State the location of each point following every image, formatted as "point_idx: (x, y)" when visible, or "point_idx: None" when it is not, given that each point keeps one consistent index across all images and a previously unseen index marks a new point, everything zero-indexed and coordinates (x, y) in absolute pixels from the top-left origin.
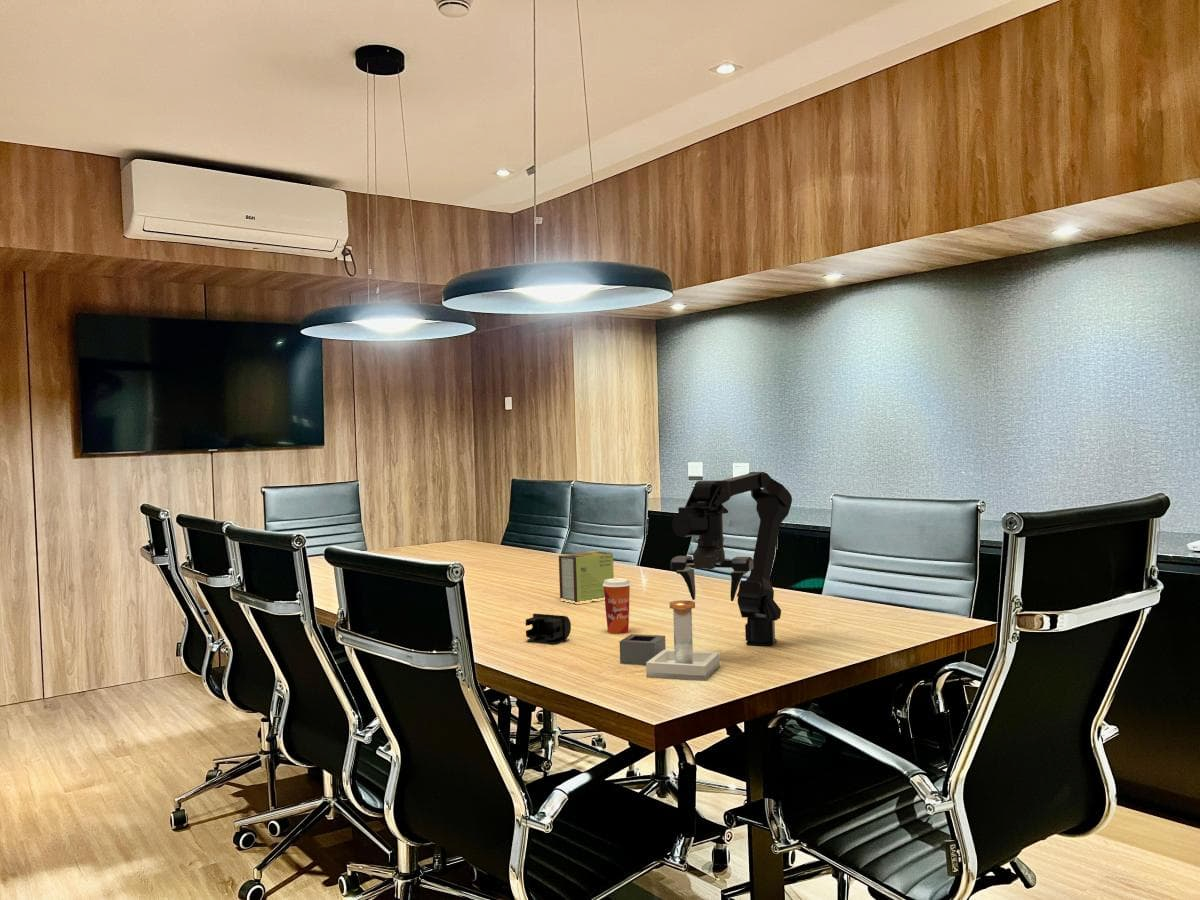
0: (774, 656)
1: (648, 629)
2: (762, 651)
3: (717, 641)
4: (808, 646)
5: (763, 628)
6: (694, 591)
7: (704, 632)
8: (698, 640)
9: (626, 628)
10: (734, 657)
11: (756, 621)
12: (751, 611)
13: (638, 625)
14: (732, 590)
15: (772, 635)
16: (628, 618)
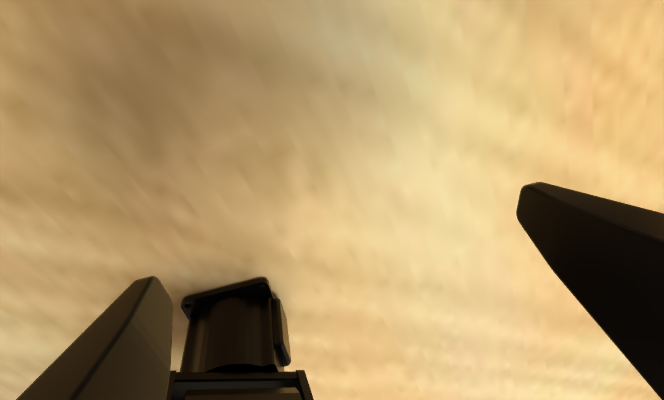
0: (70, 189)
1: None
2: (167, 234)
3: (369, 276)
4: None
5: (205, 343)
6: (575, 260)
7: (434, 331)
8: (426, 262)
9: None
10: (204, 105)
11: (228, 358)
12: (240, 389)
13: None
14: (60, 380)
15: (186, 337)
16: None
